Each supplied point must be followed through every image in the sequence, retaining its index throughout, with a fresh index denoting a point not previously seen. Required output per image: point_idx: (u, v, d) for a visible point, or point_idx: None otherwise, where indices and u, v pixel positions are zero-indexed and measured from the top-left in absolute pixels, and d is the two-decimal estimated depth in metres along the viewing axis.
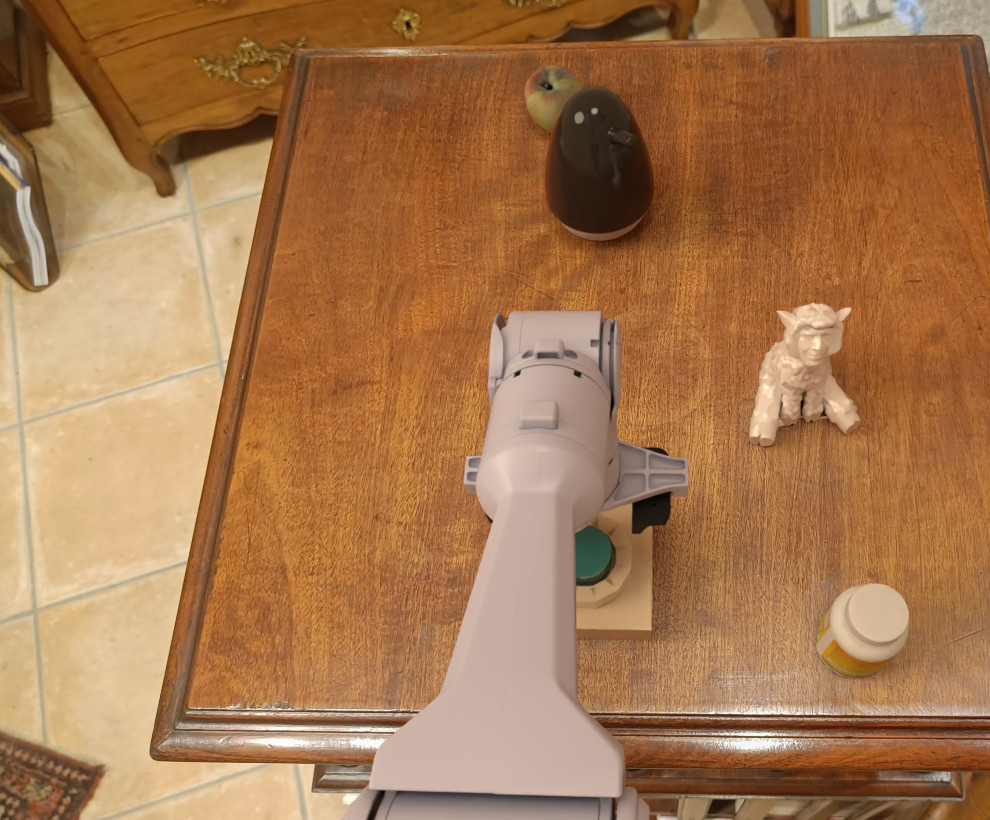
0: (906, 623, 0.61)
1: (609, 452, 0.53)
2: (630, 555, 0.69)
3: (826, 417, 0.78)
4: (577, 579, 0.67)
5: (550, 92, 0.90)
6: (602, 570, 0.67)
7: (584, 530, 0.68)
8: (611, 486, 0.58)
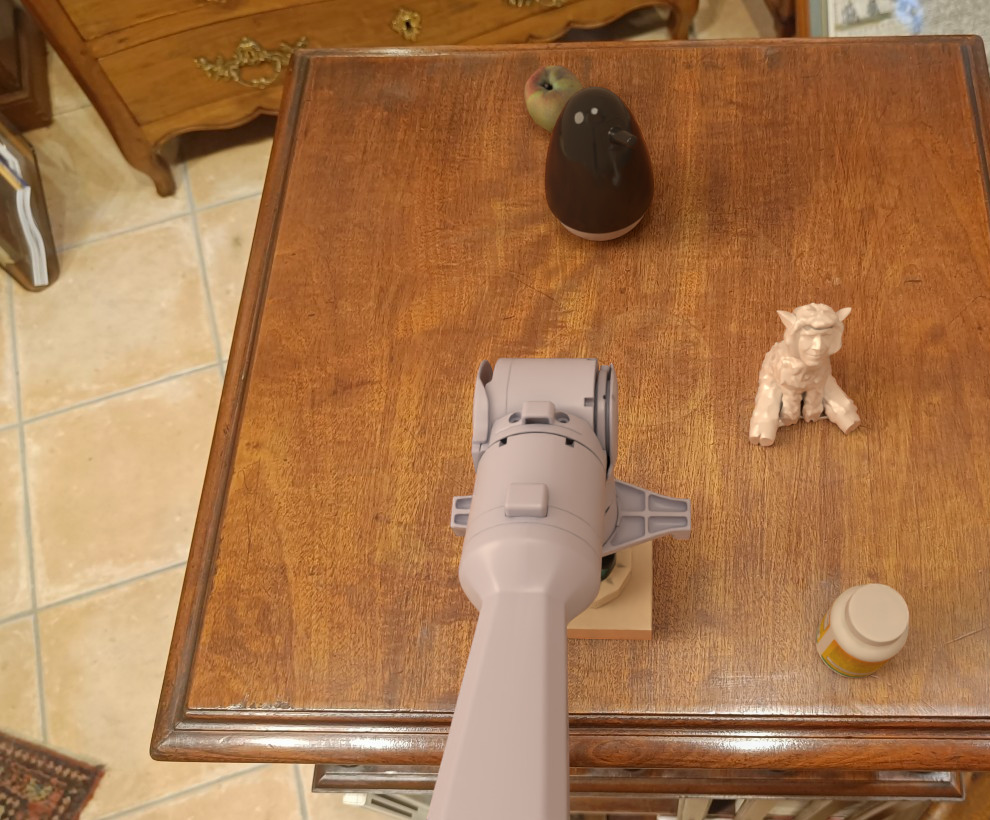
0: (906, 623, 0.61)
1: (606, 501, 0.49)
2: (630, 555, 0.69)
3: (826, 417, 0.78)
4: None
5: (550, 92, 0.90)
6: (602, 570, 0.67)
7: None
8: (608, 531, 0.54)
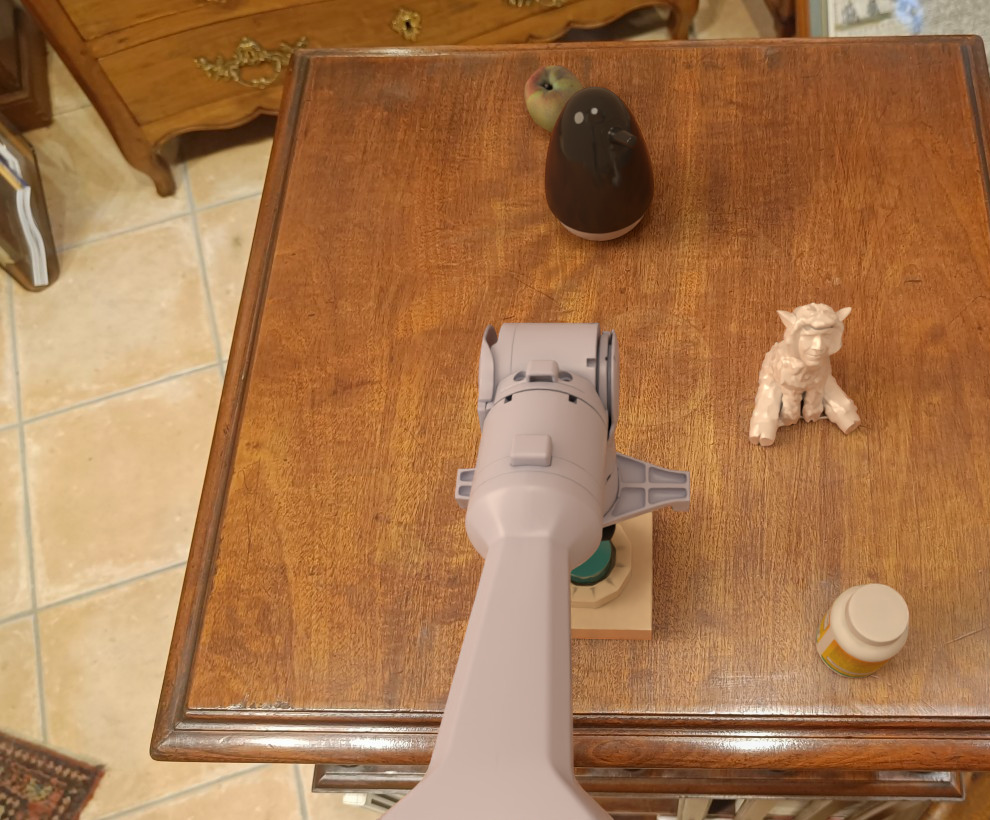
0: (906, 623, 0.61)
1: (607, 468, 0.51)
2: (630, 555, 0.69)
3: (826, 417, 0.78)
4: (577, 579, 0.67)
5: (550, 92, 0.90)
6: (602, 570, 0.67)
7: None
8: (609, 502, 0.55)
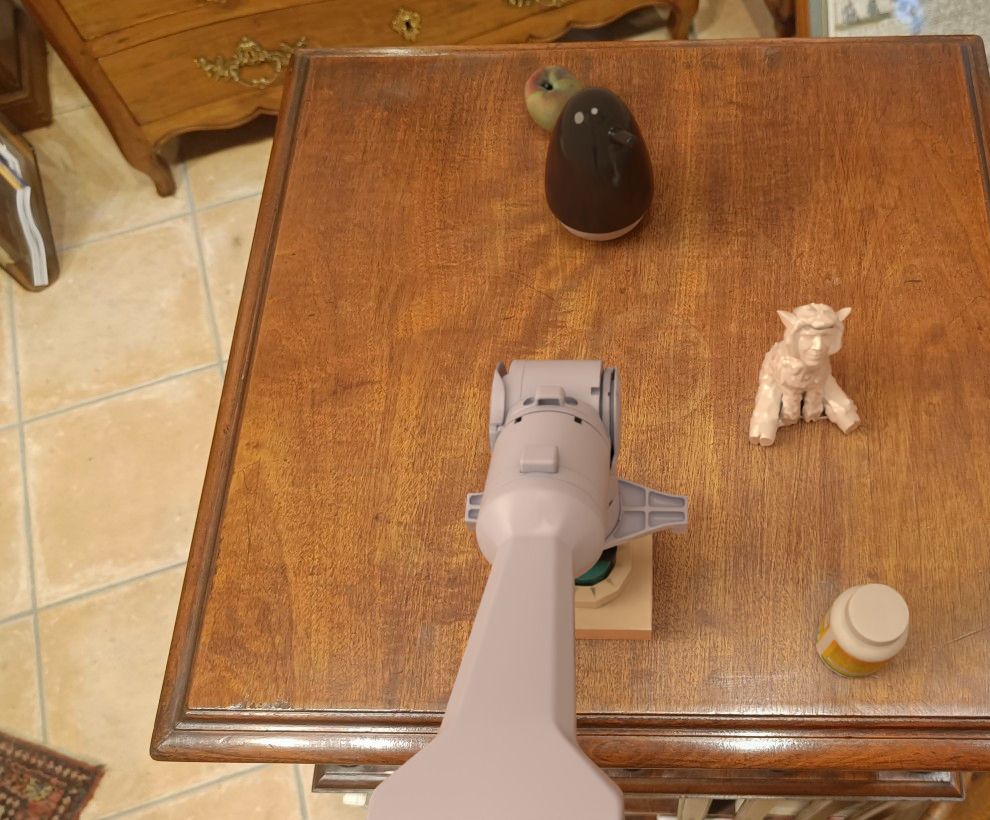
0: (906, 623, 0.61)
1: (609, 494, 0.54)
2: (630, 555, 0.69)
3: (826, 417, 0.78)
4: (578, 582, 0.68)
5: (550, 92, 0.90)
6: (602, 573, 0.68)
7: None
8: (611, 525, 0.58)
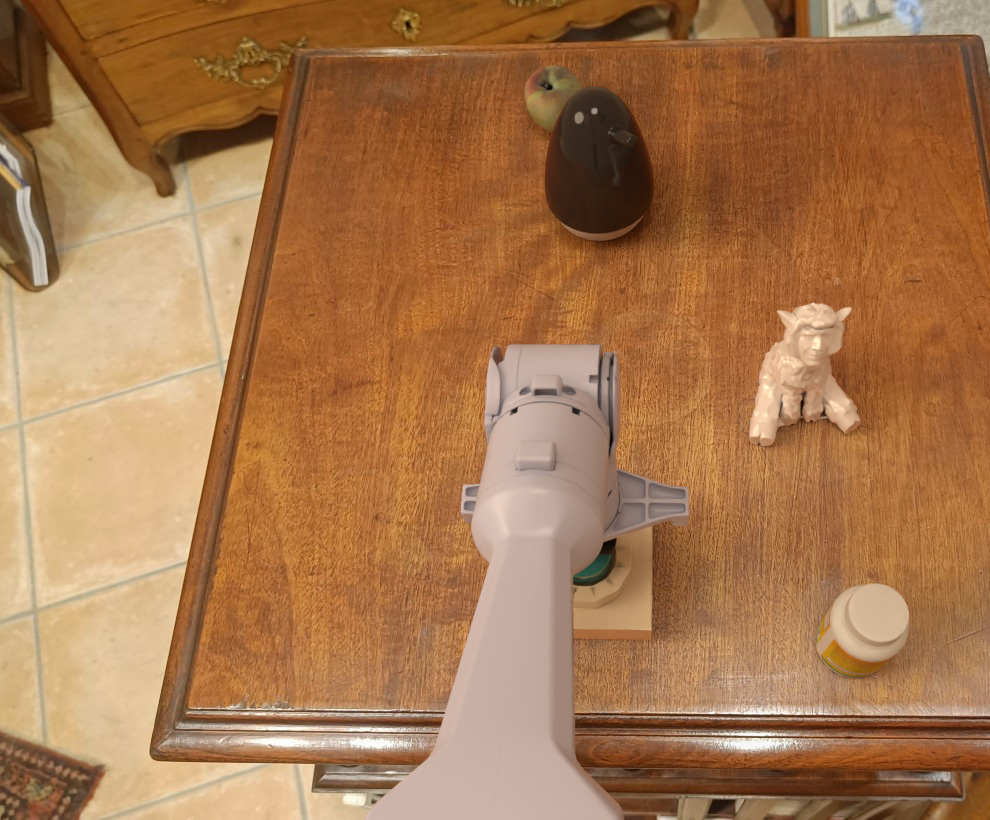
0: (906, 623, 0.61)
1: (608, 484, 0.52)
2: (630, 555, 0.69)
3: (826, 417, 0.78)
4: (577, 579, 0.67)
5: (550, 92, 0.90)
6: (602, 570, 0.67)
7: None
8: (610, 516, 0.57)
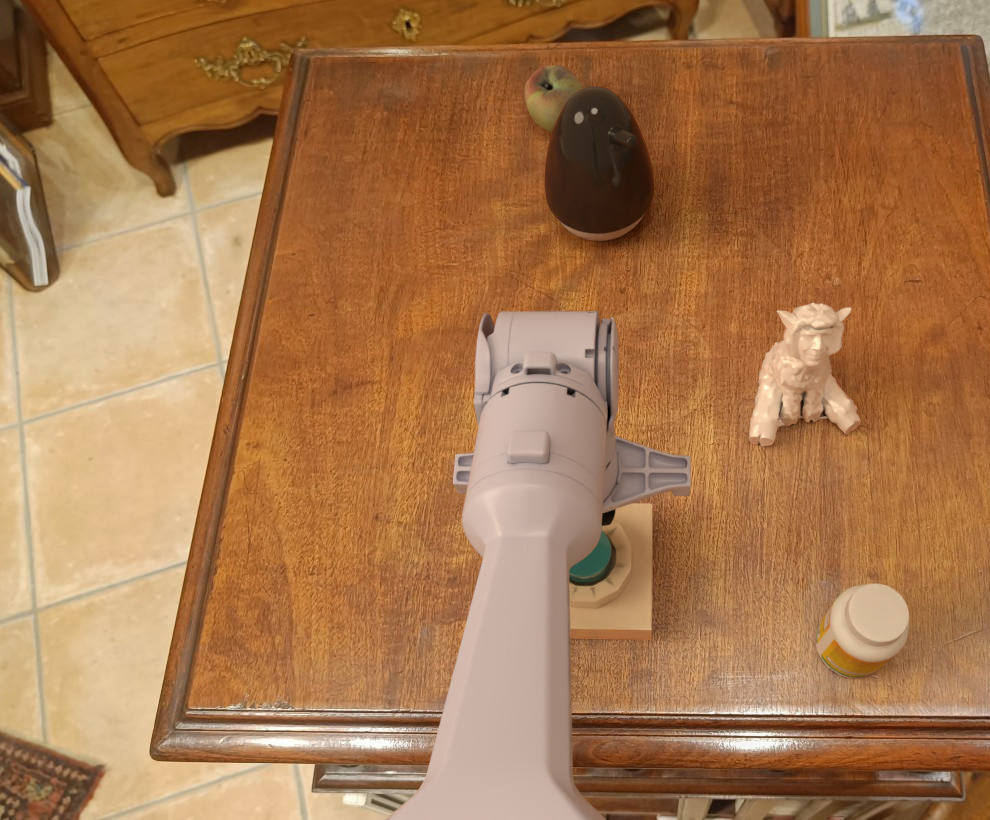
0: (906, 623, 0.61)
1: (606, 456, 0.50)
2: (630, 555, 0.69)
3: (826, 417, 0.78)
4: (577, 579, 0.67)
5: (550, 92, 0.90)
6: (602, 570, 0.67)
7: None
8: (609, 488, 0.54)
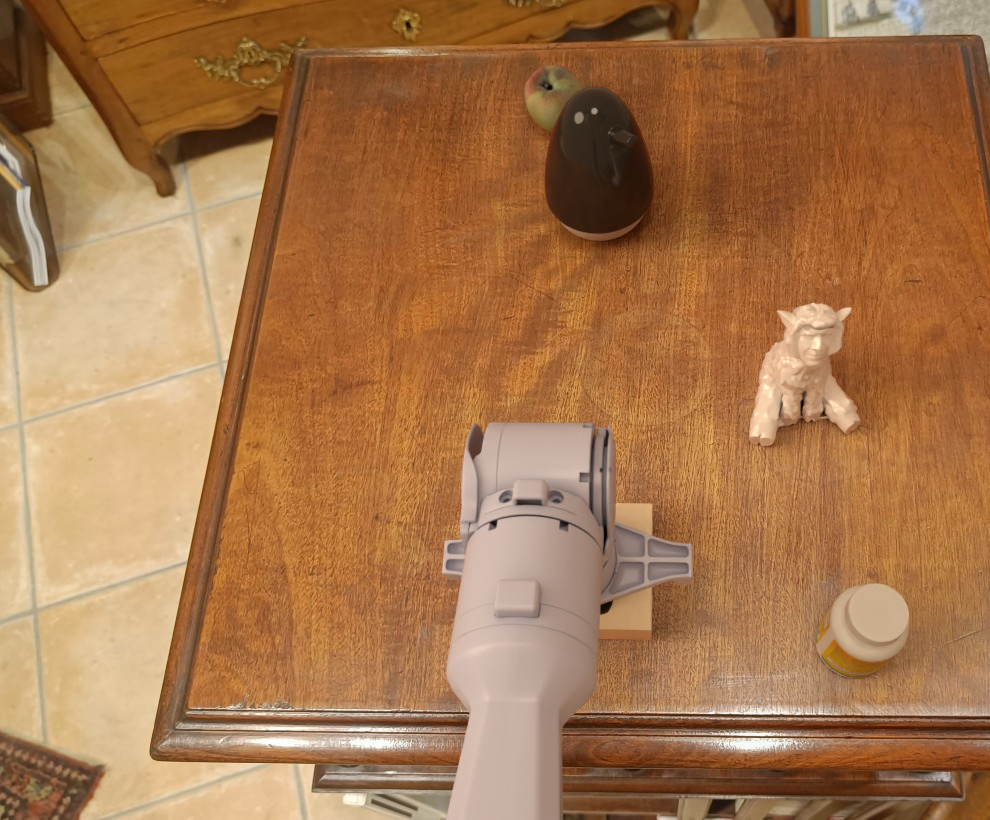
0: (906, 623, 0.61)
1: (603, 558, 0.47)
2: None
3: (826, 417, 0.78)
4: None
5: (550, 92, 0.90)
6: None
7: None
8: (606, 581, 0.52)
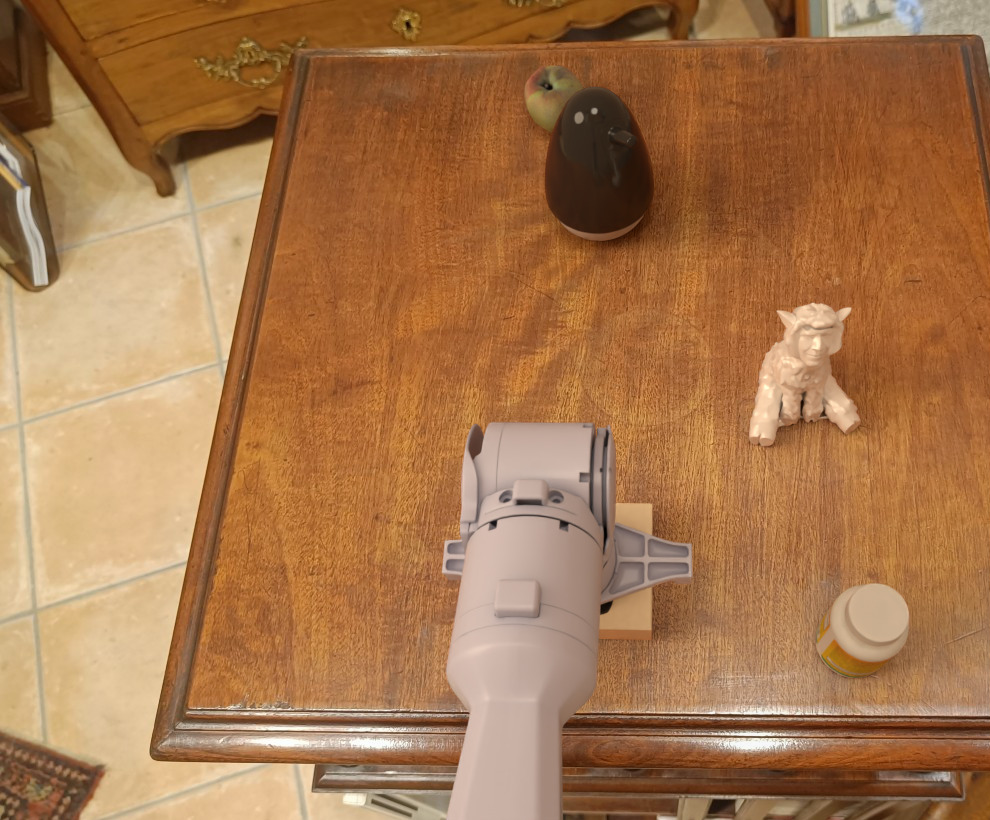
0: (906, 623, 0.61)
1: (603, 558, 0.47)
2: None
3: (826, 417, 0.78)
4: None
5: (550, 92, 0.90)
6: None
7: None
8: (606, 581, 0.52)
